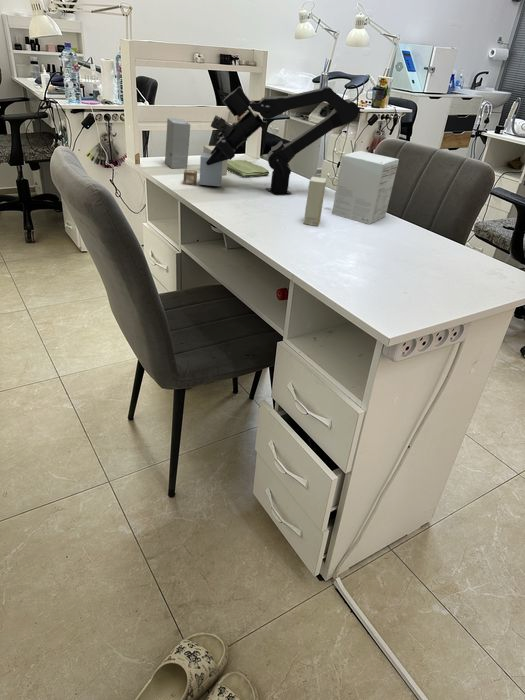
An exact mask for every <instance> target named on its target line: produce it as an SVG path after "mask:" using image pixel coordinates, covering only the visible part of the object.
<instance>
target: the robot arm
mask: <svg viewBox="0 0 525 700" xmlns="http://www.w3.org/2000/svg"><path fill="white" fill-rule="evenodd" d="M222 102H223V104H224V105H225V107H226V108H227V109H228V110H229V111H230V113H231V114H232V115H233V117H236V116H237V117H238V118H240V119H239V120H238V121H237V122H233V123H232V124H230V123H229V122H228V121H226V119H224V118H223V117H222V116H221V117H220V116H218V115H217V114H215V116H214V117H213V120H212V121H211V123H210V127H211V128H212V129H214V130H217V131H218V132H219V133H218V136H217V138H216V143H215V145H214V146H215V148H214V149H213V150H212V152H211V153H210V154H212V155H211V156H210V158H209V159H208V160H207V162H206V164H207V165H211V164H214V163H218V162H221V161H224V160H233V158H235V155H236V154H235V153H236V150H238V148H239V147H240V146H241V145H242V144H243V143H246V142H247V141H248V139H249V138H250V137H251V136H252V135H253V134H254V133H256V131H257V130H259V129H260V128H261V130H262V131H263V132H266V131H267V125H268V121H264V120H263V119H262V118H264V119H265V120H270V119H273V118H275V117H277V116H280V115H282V114H283V113H285V112H287V111H290V110H291V111H292V110H294V109H298V108H299V109H300V108H304V107H308V106H312V105H316V104H321V103H327V104H329V106H330V107H332V108H333V109H332V110H331V111H330V113H329V114H328V115H327V116H326V117H325V118H323V119H321V120H320V121H319V122H317V123H316V124H314V125H313V126H312V127H310V128H308V129H307V130H305V131H304V132H303V133H301V134H299V135H298V136H297V137H296V138H294V139H293V140H291V141H288V142H287V143H284V142H283V140H280V141H279V142H278V143H277V144H276V145H274V146H270V148H271V150H269V152H268V153H267V163H268V165H269V167H270V169H272V170H273V171H272V172H271V181H270V187H267V188H266V190H267V191H268V192H270V193H271V194H273V195H276V196H277V195H279V196H280V195H292V192H290V191H289V190H288V189H289V184H290V183H289V182H290V175H291V173H292V169H291V166H290V164H289V163H290V161H292V160H293V159H294V157H295V156H296V155H297V154H299V153H300V152H302V151H303V150H305V149H306V148H307V147H308V146H310V145H312V144H313V143H314V142H316V141H317V140H319V139H320V138H322V137H323V136H325V135H327V134H328V133H329V132H331V131H332V130H335V129H336V128H339V127H343V126H346V125H348V124H350V123H353V122H354V121H356V120H357V118H358V116H359V112H360V110H359V106H358V105H357V103H356V102H354V101H352V100H350V99H344V98H343V97H341V95H339V94H337V92H335V91H334V90H333V88H331V87H330V86H323V87H319V88H317V89H311V90H308V91H304V92H299V93H295V94H291V95H284V96H283V95H272V96H264V97H261V99H259V100H250V99H249V97H248V96H247V95H246V93H245V92H244V90H243V88H242V87H241V86H238V87H237V88H235V90H233V91H231V92H230V93H229V94H228V95H227V96H226V97H225V98H224V99H223V100H222ZM247 111H248V112H247ZM253 111H254V112H255V113H256V114H255V113H254V112H253ZM246 112H247V113H246Z"/></svg>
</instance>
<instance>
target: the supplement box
mask: <svg viewBox="0 0 525 700" xmlns="http://www.w3.org/2000/svg"><path fill="white" fill-rule="evenodd" d="M399 160H400V159H399V158H395V157H391V156H385V155H382V154H381V155H380V154H376V153H371V152H367V151H364V150H357V151H354V152H349V153H346V154H342V155H341V162H340V167H339V173H338V179H337V184H336V188H335V193H334V195H335V196H334V200H333V205H332V210H331V214H333V215H335V216H339V217H344V218H346V219H350V220H353V221H357V222H359V223H360V222H361V223H363V224H367V225H371V224H372V223H375V222H376V221H379V220H380V219H382V218H384V217H386V215H387V212H388V206H389V203H390V200H391V195H392V191H393V186H394V183H395V179H396V174H397V170H398V166H399Z"/></svg>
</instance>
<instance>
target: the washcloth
mask: <svg viewBox="0 0 525 700" xmlns="http://www.w3.org/2000/svg"><path fill="white" fill-rule="evenodd" d="M227 170H228V171H227V172H229V171H230V172H229V173H232V172H233V173H232V174H234V173H235V175H237V176H240V177H241V176H242V177H241V178H244V177H245V178H251V177H250V176H255V177H260V175H262V176H269V175H270V171H269V170H268V169H267V168H266V167H264V166H262V165H258V164H256V163H253V162H251V161H248V160H246V159H234V160H233V159H231V160H228V161H227Z"/></svg>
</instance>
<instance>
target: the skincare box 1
mask: <svg viewBox="0 0 525 700" xmlns="http://www.w3.org/2000/svg"><path fill="white" fill-rule="evenodd" d="M190 134H191V124H190V123H189V122H188V121H187V120H185V119H182V118H173V117H167V123H166V137H165V139H166V140H165V152H164V153H165V155H164V162H165V164H166V165H167V166H168V167H169V168H170V169H179V170H180V169H182V170H188V159H189V147H190Z"/></svg>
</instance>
